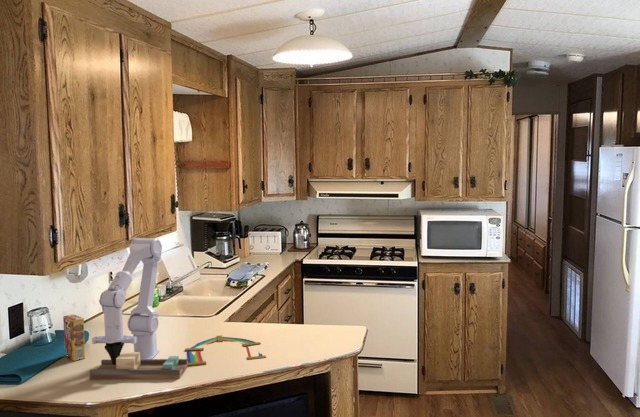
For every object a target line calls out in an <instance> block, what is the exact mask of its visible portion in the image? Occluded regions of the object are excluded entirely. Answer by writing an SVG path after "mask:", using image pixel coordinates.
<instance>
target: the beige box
mask: <svg viewBox="0 0 640 417" xmlns="http://www.w3.org/2000/svg"><path fill="white" fill-rule="evenodd" d="M140 365H141V363H140V352H134V351H133V352H132V351H131V352H130V351H129V352H127V351H124V352H121V353H120V355H119V356H118V357H117V358H116V369H137V368H138V367H139V366H140Z"/></svg>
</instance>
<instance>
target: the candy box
mask: <svg viewBox="0 0 640 417" xmlns="http://www.w3.org/2000/svg"><path fill="white" fill-rule="evenodd" d="M62 320H63V340H64V341H63V343H64V344H65V345H66V348H67V353H68V354H67V355H68V357H70V358H71V359H70V358H69V359H70V360H72V361H74V362H75V361H80V360H84V359H85V358H86V352H85V350H86V349H85V322H84V320H85V319H84V317H81V316H79V315H76V314H73V313H72V314H67V315H63V316H62ZM65 345H64V346H65ZM68 357H67V358H68ZM79 359H80V360H79Z"/></svg>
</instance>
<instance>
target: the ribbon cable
mask: <svg viewBox="0 0 640 417" xmlns="http://www.w3.org/2000/svg"><path fill="white" fill-rule="evenodd" d="M216 342H218V343H224V342H229V343H240V345H242V347H244V348H246V351H247V354H248V356H247V357H246V360H247V361H249V360H258V359H267V356H266V355H263V354H262V353H260V352H258V355H256V356H252V355H251V352H250V348H249V346H256V345H261V344H262V343H261V342H260V341H257V342H256V341H254V340H250V339H246V338H241V337H240V338H239V337H232V336H231V337H228V336H222V335H216V337H215V336H214V337H212V338H209V339H206V340H203V341H200V342H197V343H195V345H193V346H191V347H190V348H189V347H187V348H186V347H185V349H184V352H186V355H187V356H186V357H187V368H189V367H195V366H197V367H198V366H204V365H207V361H204V360H203V357H202V352H203V351H204V350H205V348H204V347H200V346H204V345H206V346H208V345H211V344H214V343H216ZM193 351H194V354H193Z"/></svg>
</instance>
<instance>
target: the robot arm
mask: <svg viewBox="0 0 640 417" xmlns="http://www.w3.org/2000/svg"><path fill="white" fill-rule="evenodd" d="M162 251H163V245H162V243H161V241H160V239H159V238H148V237H147V238H143V237H134V238H133V239H132V240H131V243H130V245H129V254H128V256H127V259H126V260H125V263H124V265H123V267H122V270H121V271H117V272H116V273H115V276H114V278H112V281H111V282H110V284H109V286H108V288H107V289H106V290H104V291H102V292H101V294H100V297H99V299H98V302H99V305H100V307H101V311H102V313H103V316H104V317H103V319H104V323H103V324H104V335H100V336H94V337H92V338H91V344H92V345H96V344H105V345H104V349H105V351H106V352H107V354H108V355H109V357H110V360H111V361H112V364H113V365H116V358H117V357H118V356H119V355H120V354H122V350H123V348H124V345H125V344H132V345H133V352H140V359H154V357H156V356H157V354H158V353H159V352H160V349H158V343H157V333H156V331H157V330H158V327H159V313H158V311H157V310H156V309H155V308H153V303H154V297H155V289H156V282H157V275H158V270H159V262H160V261H161V257H162ZM140 262H141V263H142V264H143V267H142V273H141V280H140V285H139V286H140V287H139V293H138V299H137V301H138V302H137V306H136V307H134V308H133V309H132V310H130V314H129V318H128V320H127V329H128V330H129V332H130V333H131V335H124V325H123V308H122V307H123V305H124V304H125V302H126V296H127V290H128V289H129V287H130V285H131V283H132V281H133V277H132V274H133V273H134V272H135V271H136V269H137V267H138V266H139V264H140ZM132 335H133V336H132Z"/></svg>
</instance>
